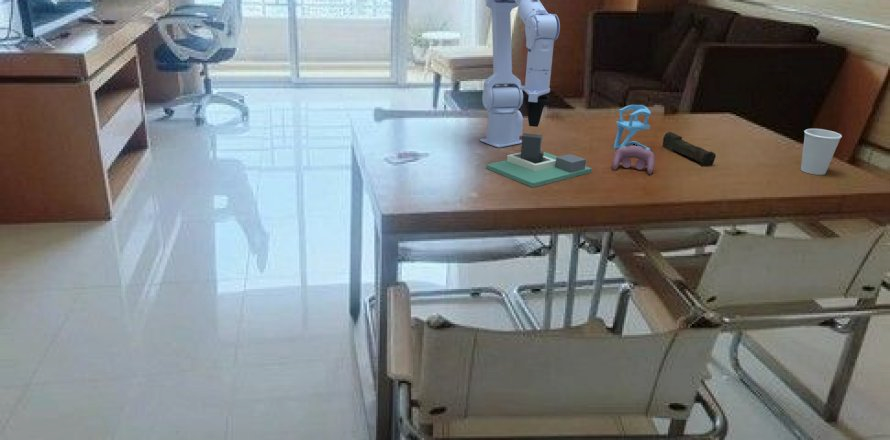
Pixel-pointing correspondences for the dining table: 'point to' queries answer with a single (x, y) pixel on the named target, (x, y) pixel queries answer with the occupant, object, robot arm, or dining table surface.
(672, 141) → the hand tool
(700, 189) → the dining table surface
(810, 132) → the dixie cup
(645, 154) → the video game controller
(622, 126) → the chair
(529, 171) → the circuit board
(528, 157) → the dark grey upright block
